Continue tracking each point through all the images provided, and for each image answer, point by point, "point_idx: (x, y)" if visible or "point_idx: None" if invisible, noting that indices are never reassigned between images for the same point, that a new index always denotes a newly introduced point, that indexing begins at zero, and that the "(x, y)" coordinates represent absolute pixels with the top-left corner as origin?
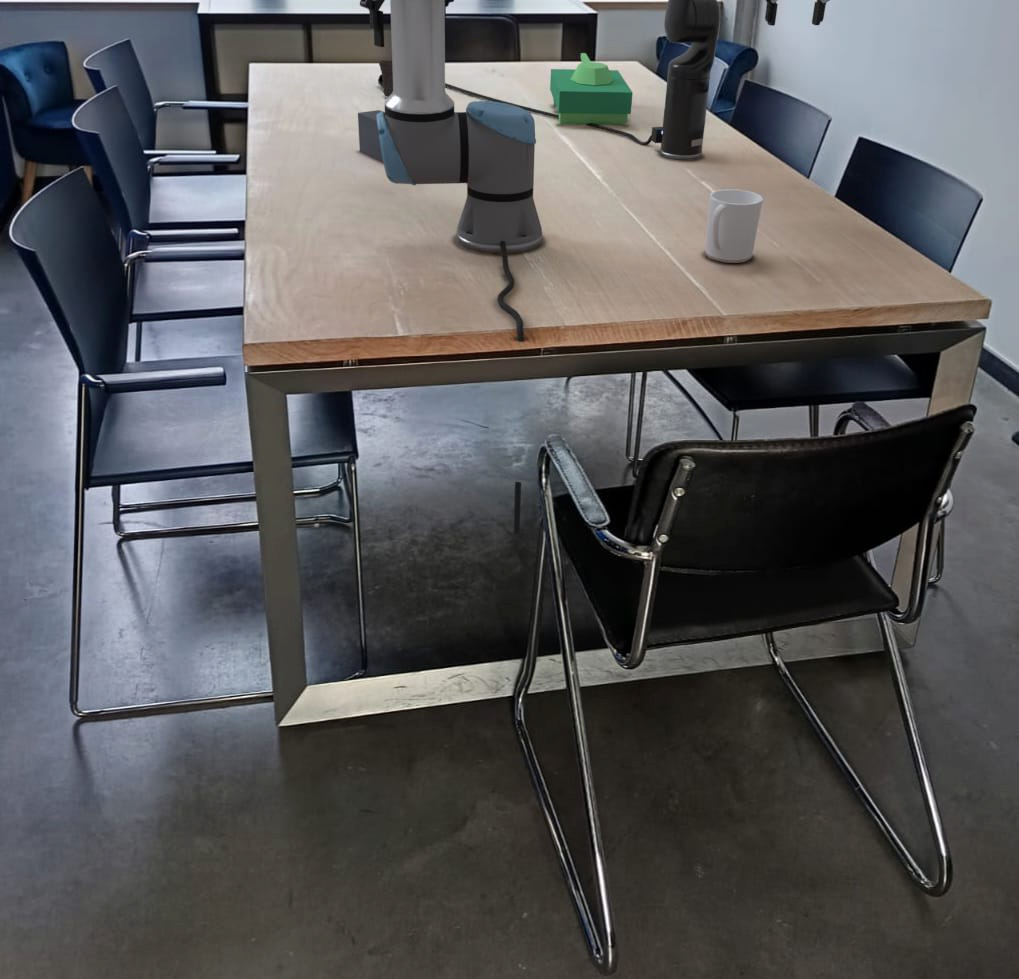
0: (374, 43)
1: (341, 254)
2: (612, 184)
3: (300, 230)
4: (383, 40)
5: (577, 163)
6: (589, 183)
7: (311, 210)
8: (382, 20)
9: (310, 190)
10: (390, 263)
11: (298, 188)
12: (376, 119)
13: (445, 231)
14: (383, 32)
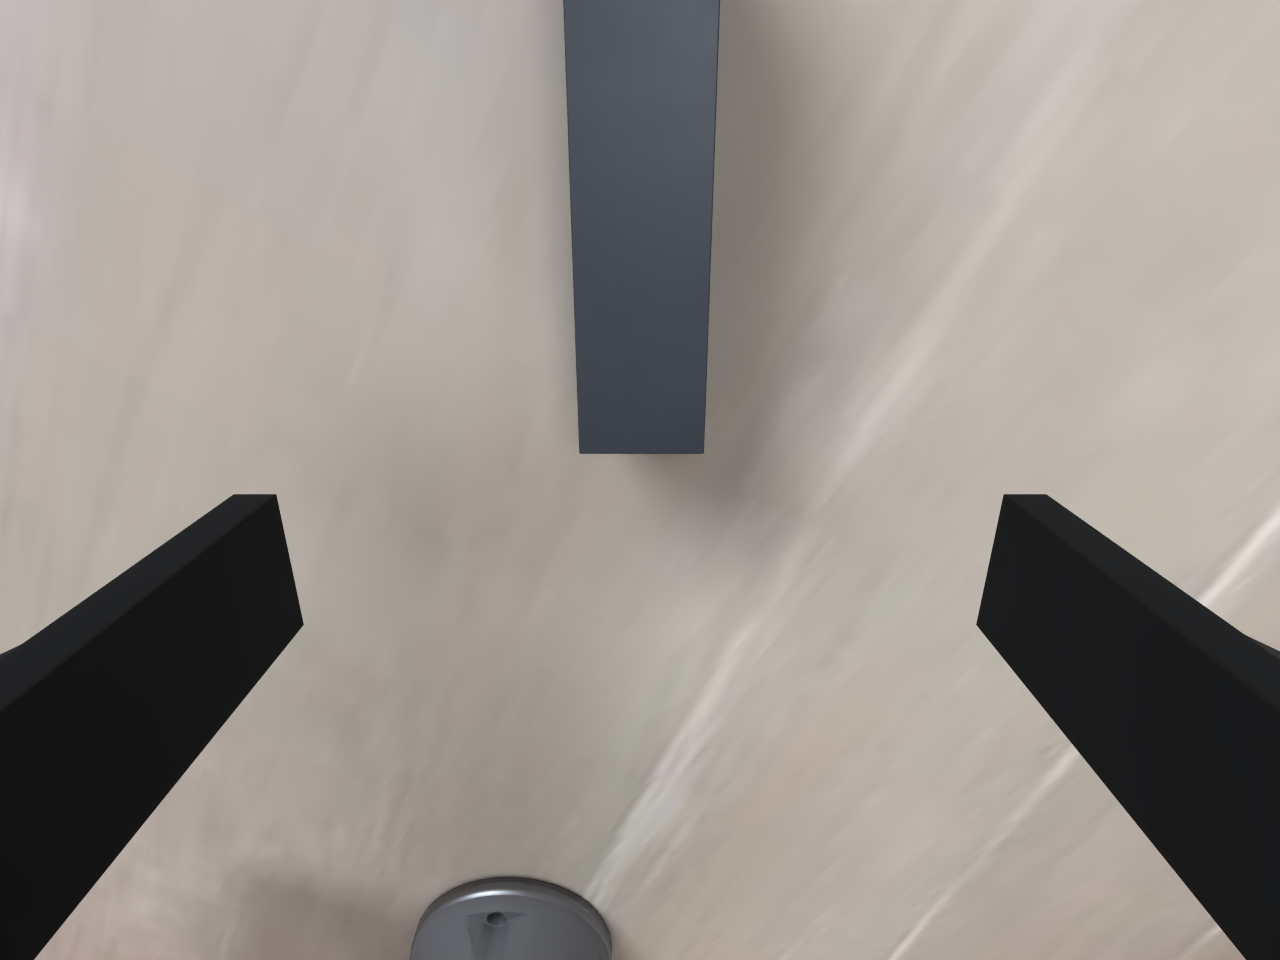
0: (225, 501)
1: (138, 867)
2: (1079, 775)
3: None
4: (263, 665)
5: (1205, 562)
6: (1034, 740)
7: None
8: (111, 844)
9: (175, 376)
10: (230, 943)
11: (136, 330)
12: (580, 46)
13: (430, 856)
14: (220, 722)
